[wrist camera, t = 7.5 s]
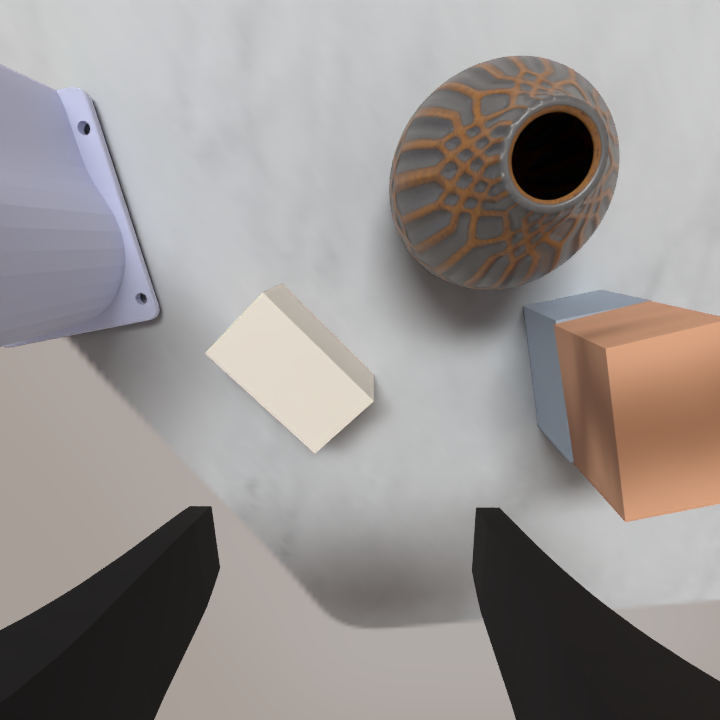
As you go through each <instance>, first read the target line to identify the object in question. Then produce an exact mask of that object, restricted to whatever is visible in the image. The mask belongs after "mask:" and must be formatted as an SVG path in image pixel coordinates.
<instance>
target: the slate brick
mask: <svg viewBox="0 0 720 720" xmlns="http://www.w3.org/2000/svg"><path fill="white" fill-rule="evenodd" d="M646 301H650V300H646V299H641V298H637V297H632V296H627V295H623V294H618V293H613V292H609V291H604V290H598V291H593V292H588V293H584V294H579V295H574V296H570V297H565V298H560V299H555V300H551V301H546V302H541V303H536V304H532V305H527V306H523V307H524V316H525V324H526V333H527V341H528V349H529V358H530V366H531V374H532V383H533V391H534V399H535V408H536V416H537V425H538V427H539V428H540V429H541V430H542V431H543V432H544V434H545V435H546V436H547V437H548V438H549V439H550V440H551V442H552V443H553V444H554V445H555V446H556V447H557V448H558V450H559V451H560V452H561V453H562V454H563V455H564V456H565V458H566V459H567V460H568V461H569V462H574V459H573V452H572V446H571V439H570V432H569V425H568V418H567V412H566V405H565V398H564V391H563V384H562V377H561V371H560V364H559V357H558V350H557V343H556V337H555V330H554V324H557V323H561V322H565V321H569V320H573V319H577V318H581V317H585V316H589V315H593V314H597V313H602V312H606V311H610V310H614V309H618V308H622V307H626V306H630V305H634V304H638V303H642V302H646Z"/></svg>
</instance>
